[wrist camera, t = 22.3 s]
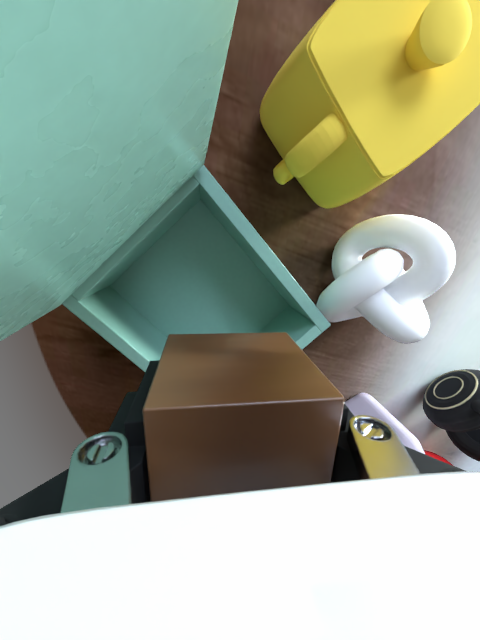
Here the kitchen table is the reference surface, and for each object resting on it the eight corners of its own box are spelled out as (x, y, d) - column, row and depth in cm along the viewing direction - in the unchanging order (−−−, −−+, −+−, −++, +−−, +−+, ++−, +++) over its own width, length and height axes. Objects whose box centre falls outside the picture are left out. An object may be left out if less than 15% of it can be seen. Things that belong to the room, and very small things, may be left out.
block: (173, 435, 12) (155, 560, 7) (168, 333, 11) (141, 409, 6) (278, 427, 13) (322, 538, 8) (286, 331, 11) (346, 398, 7)
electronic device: (389, 433, 38) (452, 498, 28) (361, 450, 38) (414, 520, 29) (363, 384, 35) (424, 439, 25) (333, 402, 35) (382, 464, 25)
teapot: (400, -42, 22) (602, -328, 11) (458, 97, 26) (651, -10, 15) (225, 130, 24) (246, 36, 13) (303, 237, 28) (372, 235, 17)
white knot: (423, 269, 31) (507, 281, 22) (354, 347, 33) (408, 384, 24) (361, 204, 28) (432, 188, 19) (289, 293, 29) (324, 316, 21)
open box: (298, 303, 30) (331, 325, 22) (208, 381, 31) (211, 427, 24) (200, 184, 25) (200, 160, 17) (98, 283, 26) (57, 300, 19)
